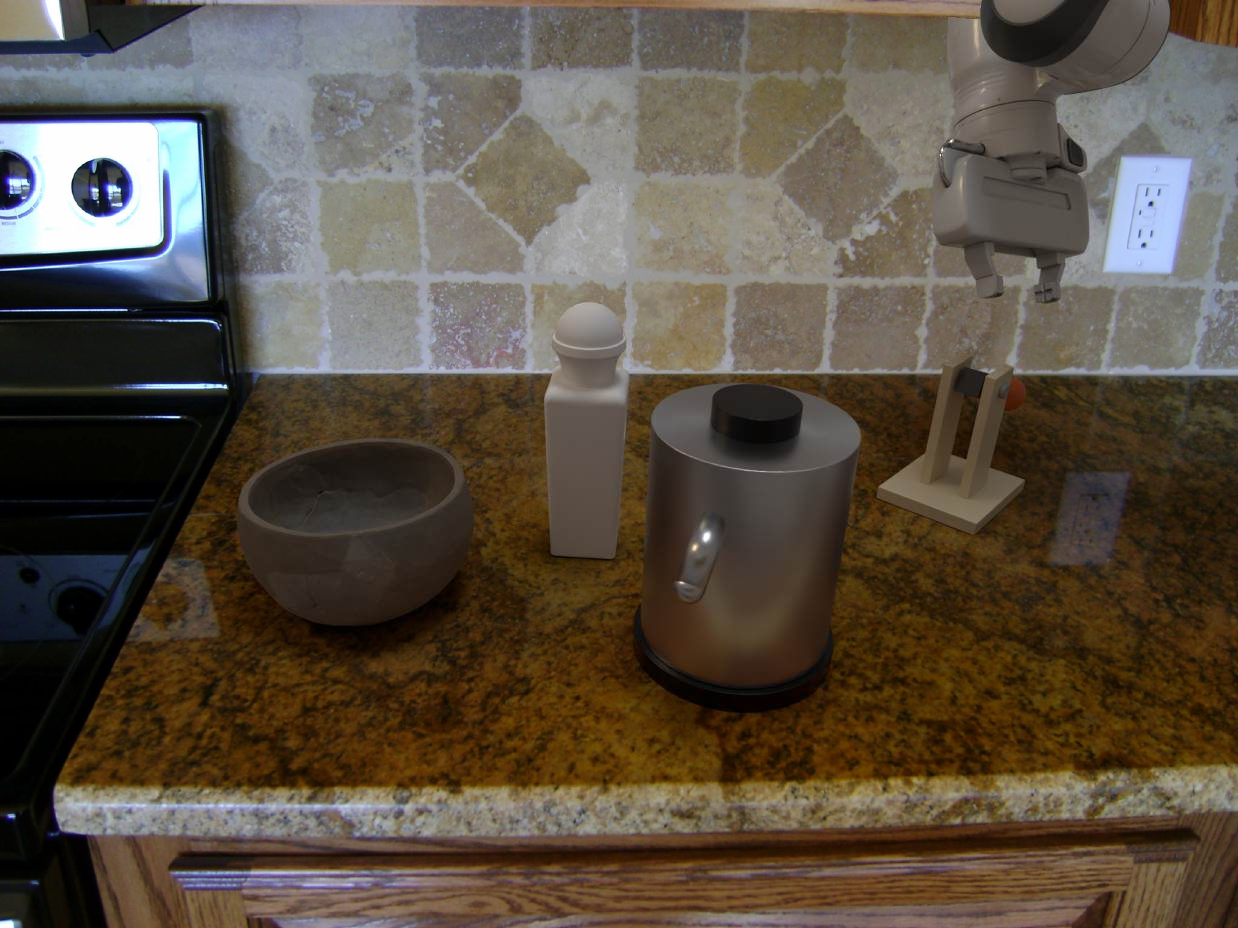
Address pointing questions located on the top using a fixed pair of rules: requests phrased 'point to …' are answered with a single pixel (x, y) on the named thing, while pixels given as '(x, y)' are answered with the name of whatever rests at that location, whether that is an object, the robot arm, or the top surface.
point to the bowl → (356, 528)
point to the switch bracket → (958, 459)
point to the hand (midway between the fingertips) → (1020, 300)
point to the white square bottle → (586, 432)
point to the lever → (974, 383)
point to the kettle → (743, 543)
